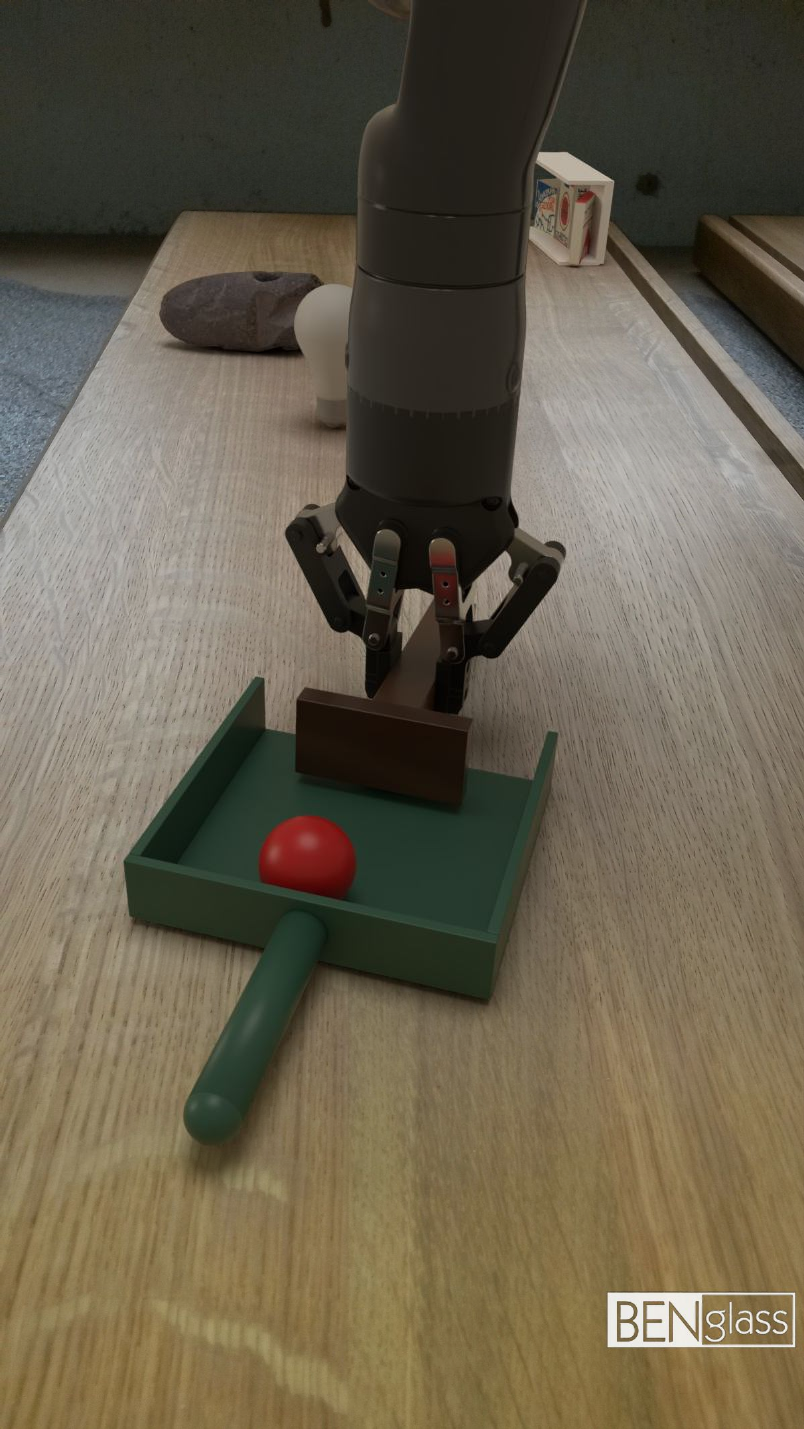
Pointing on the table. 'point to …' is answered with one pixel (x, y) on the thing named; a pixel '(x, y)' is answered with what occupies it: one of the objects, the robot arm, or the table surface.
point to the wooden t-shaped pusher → (389, 730)
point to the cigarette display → (571, 211)
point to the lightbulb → (326, 347)
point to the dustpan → (305, 927)
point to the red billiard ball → (309, 857)
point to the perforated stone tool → (237, 309)
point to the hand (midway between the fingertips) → (415, 707)
